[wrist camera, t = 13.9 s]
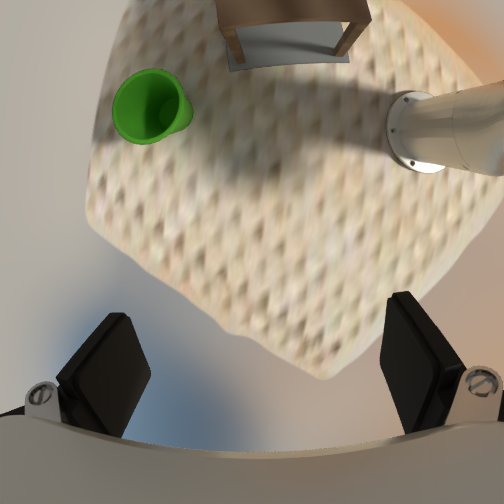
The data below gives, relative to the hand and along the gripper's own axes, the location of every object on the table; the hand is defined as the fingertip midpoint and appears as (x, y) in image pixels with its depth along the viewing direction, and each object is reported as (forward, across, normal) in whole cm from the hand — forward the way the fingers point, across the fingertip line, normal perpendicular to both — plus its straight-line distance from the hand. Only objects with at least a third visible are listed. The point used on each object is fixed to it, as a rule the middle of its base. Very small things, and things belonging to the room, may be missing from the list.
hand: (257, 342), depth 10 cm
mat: (+33, -5, -27) cm, 43 cm away
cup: (+34, +12, -14) cm, 38 cm away
